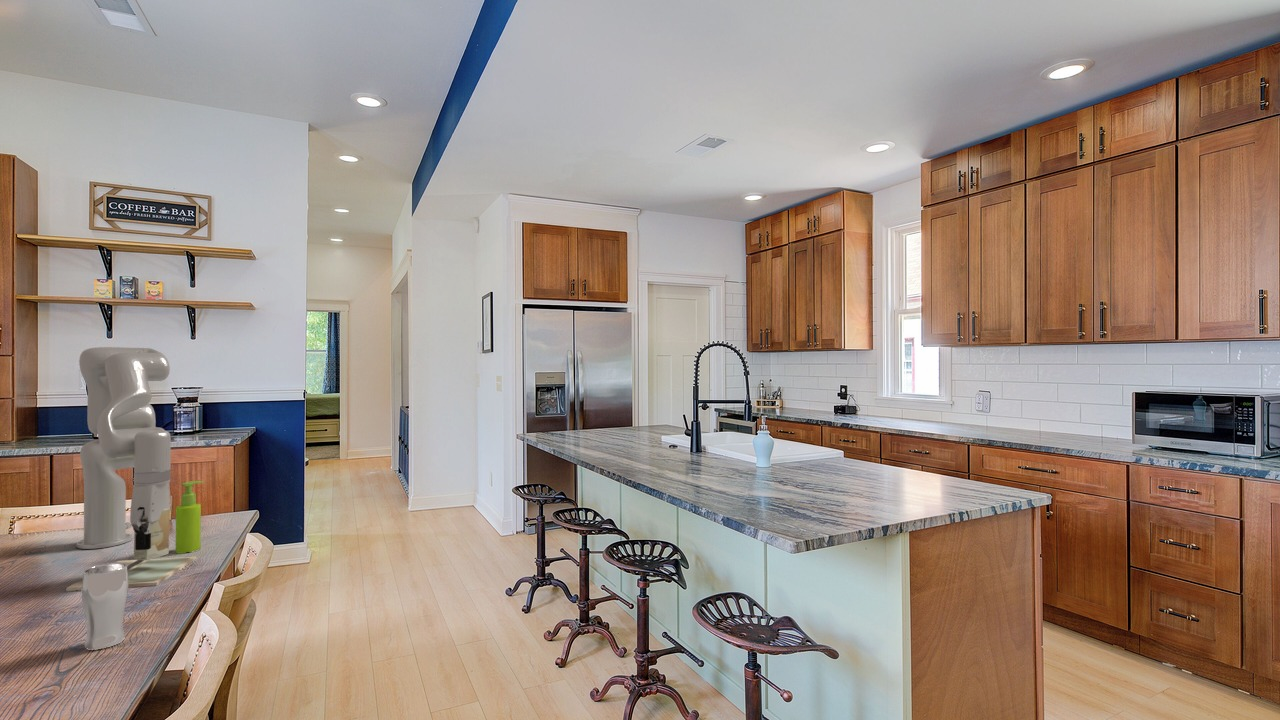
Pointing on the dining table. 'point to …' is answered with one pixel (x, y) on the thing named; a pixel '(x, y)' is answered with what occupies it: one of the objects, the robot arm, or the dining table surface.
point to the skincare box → (156, 538)
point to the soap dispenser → (188, 521)
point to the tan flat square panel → (148, 571)
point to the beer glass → (104, 604)
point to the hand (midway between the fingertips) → (151, 544)
